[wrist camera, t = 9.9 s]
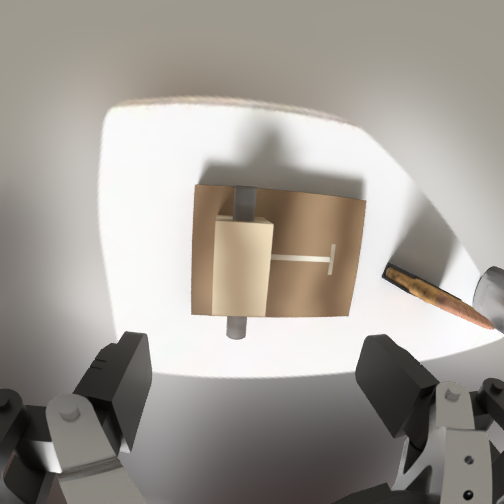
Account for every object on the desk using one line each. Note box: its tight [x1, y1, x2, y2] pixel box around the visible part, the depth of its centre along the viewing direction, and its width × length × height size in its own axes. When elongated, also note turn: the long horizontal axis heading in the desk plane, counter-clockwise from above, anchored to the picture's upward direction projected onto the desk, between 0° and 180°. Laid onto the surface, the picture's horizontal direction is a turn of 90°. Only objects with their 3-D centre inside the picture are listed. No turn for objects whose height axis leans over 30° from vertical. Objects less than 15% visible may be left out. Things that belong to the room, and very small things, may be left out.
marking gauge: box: [212, 186, 274, 340], centre depth 22 cm, size 4×12×5 cm, turn 175°
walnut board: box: [191, 185, 366, 317], centre depth 26 cm, size 16×12×2 cm
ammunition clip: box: [382, 263, 494, 329], centre depth 24 cm, size 11×2×12 cm, turn 68°
